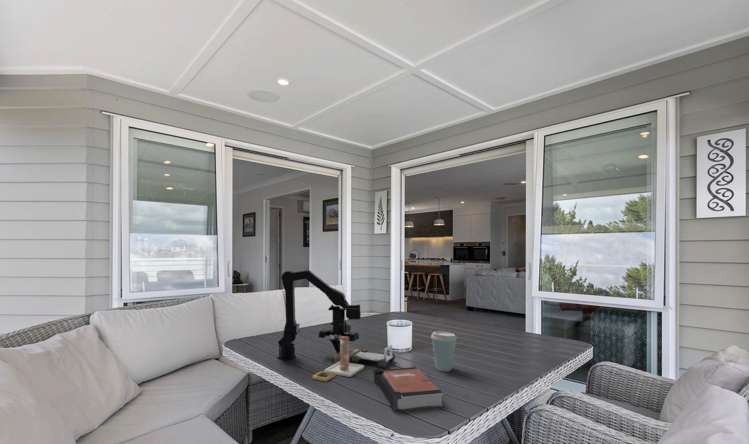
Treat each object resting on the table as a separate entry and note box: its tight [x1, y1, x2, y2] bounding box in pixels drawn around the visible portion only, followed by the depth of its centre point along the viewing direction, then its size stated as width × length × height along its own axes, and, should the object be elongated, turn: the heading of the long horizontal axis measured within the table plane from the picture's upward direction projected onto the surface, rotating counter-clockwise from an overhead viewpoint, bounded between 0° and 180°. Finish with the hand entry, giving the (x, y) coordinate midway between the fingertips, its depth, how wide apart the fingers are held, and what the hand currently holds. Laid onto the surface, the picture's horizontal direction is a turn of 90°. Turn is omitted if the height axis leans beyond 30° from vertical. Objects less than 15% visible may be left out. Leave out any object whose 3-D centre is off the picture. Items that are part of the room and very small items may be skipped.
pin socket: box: [311, 370, 336, 383], centre depth 143 cm, size 6×6×1 cm
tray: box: [323, 361, 365, 378], centre depth 152 cm, size 12×12×1 cm
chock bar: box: [334, 348, 360, 363], centre depth 167 cm, size 7×12×4 cm, turn 161°
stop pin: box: [340, 336, 350, 371], centre depth 152 cm, size 4×4×13 cm
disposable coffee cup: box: [430, 331, 458, 372], centre depth 154 cm, size 11×11×15 cm
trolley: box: [350, 344, 396, 370], centre depth 162 cm, size 17×12×8 cm
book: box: [373, 366, 444, 412], centre depth 129 cm, size 26×18×5 cm
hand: (338, 354), depth 169 cm, fingers closed
